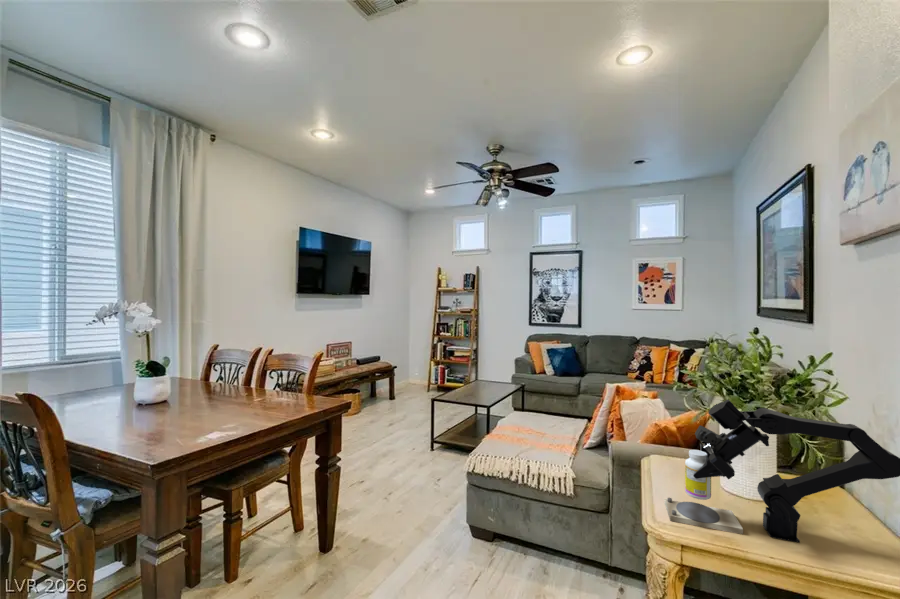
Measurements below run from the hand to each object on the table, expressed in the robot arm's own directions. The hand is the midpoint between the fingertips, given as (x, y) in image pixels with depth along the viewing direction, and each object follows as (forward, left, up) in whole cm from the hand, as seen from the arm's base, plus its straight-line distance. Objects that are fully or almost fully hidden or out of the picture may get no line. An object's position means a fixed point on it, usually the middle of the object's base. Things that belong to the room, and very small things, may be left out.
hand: (692, 472), depth 120 cm
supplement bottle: (-1, 0, -7) cm, 7 cm away
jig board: (-2, +1, -13) cm, 13 cm away
